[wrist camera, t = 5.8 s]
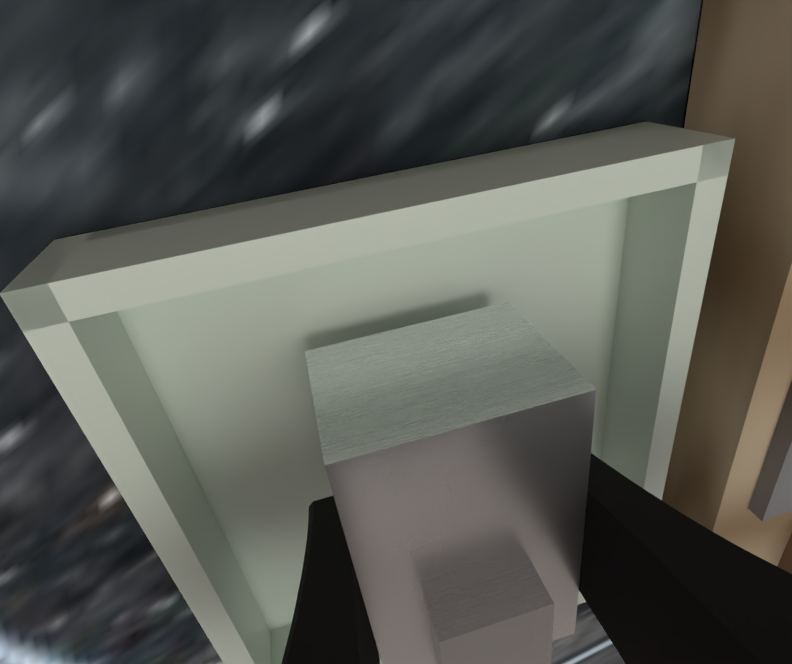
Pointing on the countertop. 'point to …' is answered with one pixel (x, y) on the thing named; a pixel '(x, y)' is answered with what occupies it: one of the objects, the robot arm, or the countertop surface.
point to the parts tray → (362, 333)
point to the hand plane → (743, 290)
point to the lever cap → (459, 484)
